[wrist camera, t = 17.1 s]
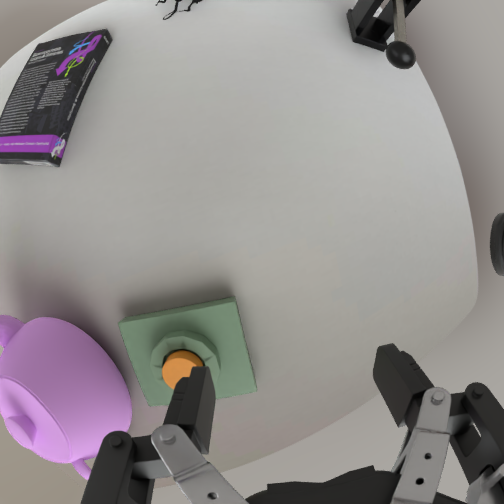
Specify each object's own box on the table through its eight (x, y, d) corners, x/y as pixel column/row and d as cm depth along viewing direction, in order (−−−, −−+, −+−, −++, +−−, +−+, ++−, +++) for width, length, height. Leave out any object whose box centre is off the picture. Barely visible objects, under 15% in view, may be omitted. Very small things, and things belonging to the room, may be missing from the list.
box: (61, 169, 25) (115, 39, 24) (45, 162, 21) (107, 25, 21) (0, 164, 24) (47, 50, 23) (-15, 160, 20) (37, 40, 19)
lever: (405, 75, 23) (421, 71, 19) (380, 65, 22) (395, 60, 19) (400, -10, 17) (413, -18, 13) (376, -20, 16) (388, -30, 13)
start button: (197, 347, 23) (195, 354, 21) (208, 380, 23) (206, 389, 21) (160, 352, 23) (156, 360, 21) (172, 385, 23) (169, 394, 21)
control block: (234, 296, 27) (235, 305, 23) (255, 381, 27) (259, 400, 23) (125, 317, 26) (110, 328, 22) (153, 396, 26) (145, 415, 22)
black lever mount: (386, 53, 27) (430, 4, 14) (349, 40, 26) (387, -17, 14) (377, 24, 27) (413, -23, 14) (343, 13, 26) (373, -40, 13)
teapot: (182, 415, 27) (161, 501, 13) (104, 456, 26) (73, 516, 12) (47, 250, 25) (-38, 256, 11) (-4, 326, 24) (-64, 351, 10)
